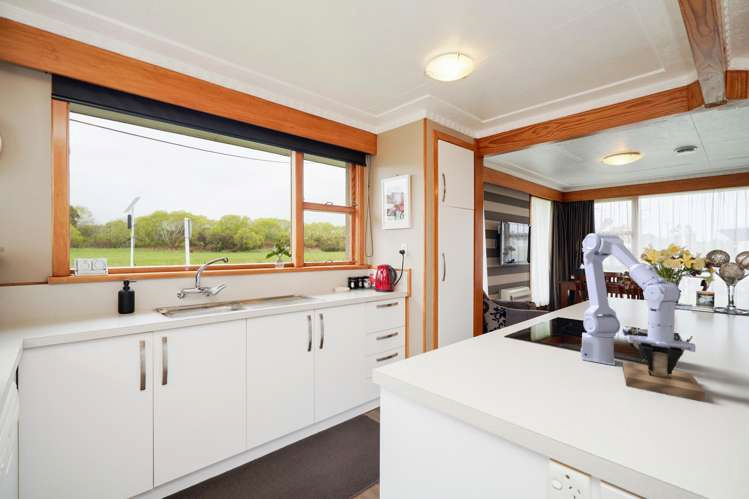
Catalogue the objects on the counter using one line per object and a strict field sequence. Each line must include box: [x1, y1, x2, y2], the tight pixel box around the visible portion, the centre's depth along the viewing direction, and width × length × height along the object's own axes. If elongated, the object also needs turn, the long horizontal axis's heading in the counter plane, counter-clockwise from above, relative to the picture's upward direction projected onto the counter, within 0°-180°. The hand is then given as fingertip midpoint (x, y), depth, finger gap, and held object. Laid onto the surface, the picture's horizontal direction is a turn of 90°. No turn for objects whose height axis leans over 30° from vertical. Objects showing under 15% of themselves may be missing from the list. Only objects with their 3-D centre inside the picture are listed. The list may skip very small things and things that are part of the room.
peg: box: [651, 352, 668, 379], centre depth 96 cm, size 4×4×8 cm
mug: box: [629, 328, 668, 360], centre depth 117 cm, size 12×9×10 cm
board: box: [622, 361, 706, 403], centre depth 95 cm, size 16×16×2 cm
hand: (659, 371), depth 95 cm, fingers closed on peg, 4 cm apart
